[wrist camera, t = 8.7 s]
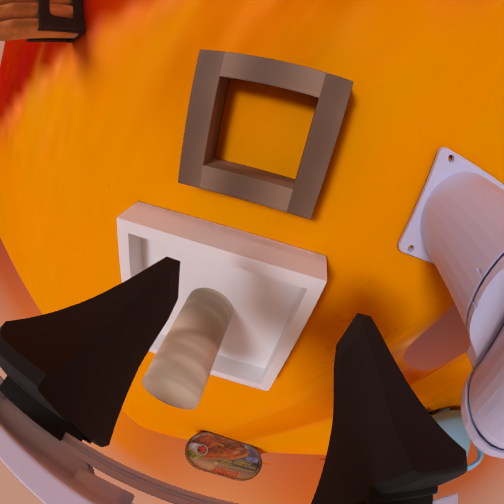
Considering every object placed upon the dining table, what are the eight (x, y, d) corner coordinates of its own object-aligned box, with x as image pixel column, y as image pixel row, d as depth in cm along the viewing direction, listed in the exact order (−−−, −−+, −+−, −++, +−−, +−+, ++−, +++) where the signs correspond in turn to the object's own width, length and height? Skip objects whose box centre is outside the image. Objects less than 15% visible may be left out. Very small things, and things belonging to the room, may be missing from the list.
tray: (326, 256, 20) (327, 281, 17) (272, 368, 28) (268, 391, 25) (138, 201, 20) (116, 217, 18) (143, 324, 29) (131, 343, 26)
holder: (348, 83, 13) (353, 81, 12) (310, 206, 18) (310, 219, 16) (212, 53, 14) (199, 49, 12) (190, 173, 18) (178, 182, 17)
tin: (266, 449, 44) (257, 485, 37) (259, 451, 46) (251, 485, 39) (194, 425, 44) (180, 461, 37) (191, 428, 45) (177, 463, 38)
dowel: (232, 292, 22) (193, 387, 14) (233, 326, 24) (201, 414, 16) (185, 283, 22) (134, 369, 15) (191, 317, 25) (150, 398, 17)
